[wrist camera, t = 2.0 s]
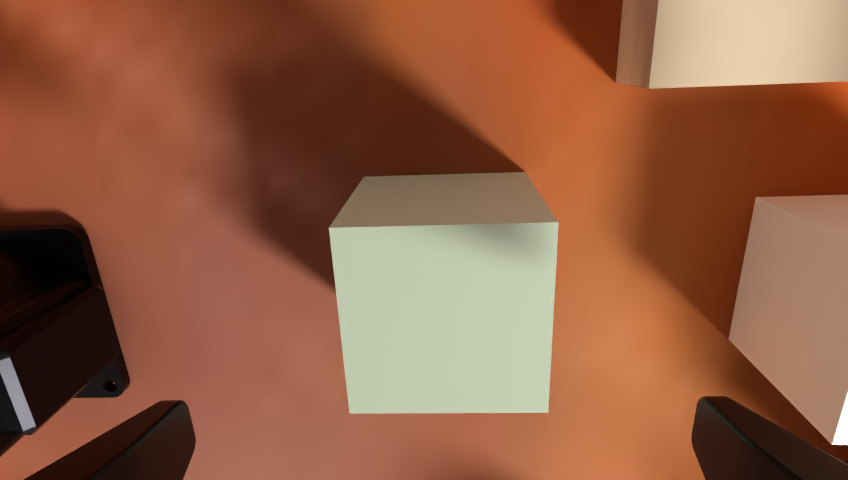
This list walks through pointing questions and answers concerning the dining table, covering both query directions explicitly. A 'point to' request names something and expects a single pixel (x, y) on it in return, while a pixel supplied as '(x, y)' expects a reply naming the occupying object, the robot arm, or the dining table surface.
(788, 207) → the cream cube
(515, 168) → the dining table surface
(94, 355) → the robot arm
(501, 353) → the green cube
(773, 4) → the base block
